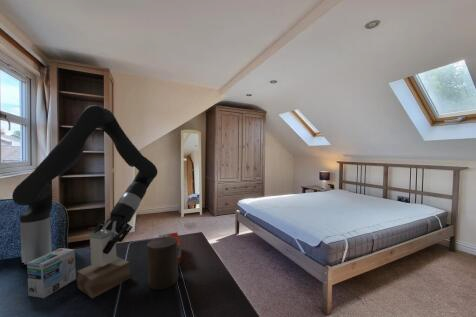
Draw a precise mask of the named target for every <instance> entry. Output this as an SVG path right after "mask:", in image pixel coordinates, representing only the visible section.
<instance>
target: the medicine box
mask: <svg viewBox="0 0 476 317" xmlns="http://www.w3.org/2000/svg"><path fill="white" fill-rule="evenodd" d="M161 237H174V238H176V239H177V260H178V265H181V264H182V242H181V240H180V237H179V234H178V232H176V231H175V232H172V233H171V232H170V233H165V234H160V235H158V238H161Z"/></svg>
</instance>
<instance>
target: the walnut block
mask: <svg viewBox="0 0 476 317" xmlns="http://www.w3.org/2000/svg"><path fill="white" fill-rule="evenodd" d="M116 258H117V259H116V260H114V261H112V262H110V263H108V264H107V265H105V266H103V267H102V266H97V265H92V264H89V265H87V266H85V267H84V268H81V269H78V270H77V272H76V276H77V277H76V278H77V289H79V290H80V291H81V292H83V293H84V294H85V295H87V296H88V297H90V298H91V299H94V298H96V297H97V296H100V295H101V294H103V293H106V292H107V291H109V290H111V289H113V288H115V287H116V286H118V285H121V284H122V283H124V282H126V281H129V279H131V266H130V265H131V264H130V262H129V261H128V260H126V259H123V258H122V257H118V256H117V255H116Z"/></svg>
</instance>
